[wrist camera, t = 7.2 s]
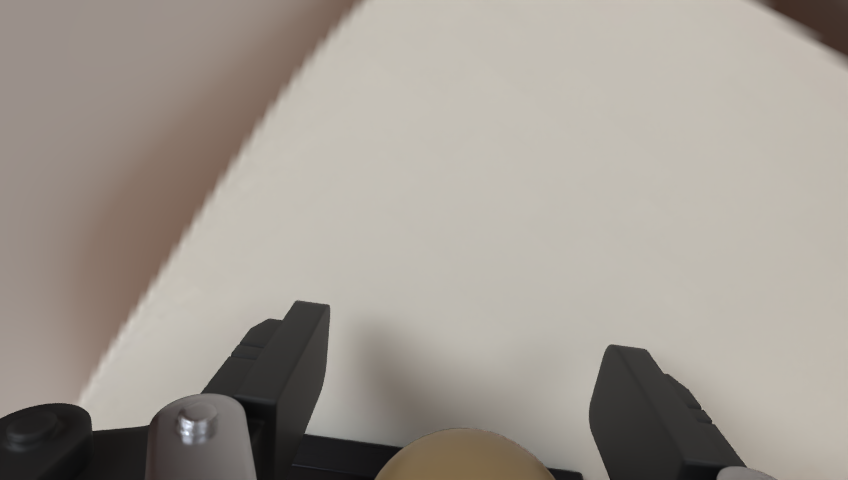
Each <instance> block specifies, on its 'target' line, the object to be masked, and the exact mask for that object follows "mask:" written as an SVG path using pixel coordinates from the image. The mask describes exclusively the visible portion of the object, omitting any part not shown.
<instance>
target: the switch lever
mask: <svg viewBox="0 0 848 480" xmlns="http://www.w3.org/2000/svg"><path fill="white" fill-rule="evenodd" d="M375 480H555V478H554V477H553V475H552V474H551V473H550V472H549V471H548V470H547V468H546V467H545V466H544V465H543V464H542V463H541V462H540V461H539V460H538V459H537V458H536V457H535V456H534V455H533V454H531V453H530V452H529V451H527V450H526V449H524V448H523V447H522V446H520V445H519V444H517V443H515V442H513V441H511V440H509V439H507V438H505V437H504V436H501V435H498V434H495V433H492V432H489V431H484V430H480V429H471V428H455V429H447V430H442V431H437V432H434V433H431V434H429V435H426V436H423V437H421V438H419V439H417V440H415V441H414V442H412V443H410V444H409V445H407V446H406V447H404V448H403V449H402V450H400V451H399V452H398V453H397V454H396V455H395V456H393V457H392V458H391V459H390V460H389V461H388V462H387V464H386V465H385V466H384V467H383V468H382V470H381V471H380V472H379V473H378V475H377V477H376V478H375Z"/></svg>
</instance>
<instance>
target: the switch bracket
mask: <svg viewBox="0 0 848 480" xmlns="http://www.w3.org/2000/svg"><path fill="white" fill-rule="evenodd" d="M402 449H403V448H401V447H393V446H386V445H379V444H372V443H365V442H357V441H350V440H343V439H336V438H329V437H321V436H314V435H307V434H304V435H303V438H302V440H301V443H300V445H299V448H298V450H297V453H296V455H295V458H294V460H293V463H292V465H291V468H290V470H289V473H288V475H287V478H286V480H375V478H376V477H377V475H378V473H379V472H380V471H381V470H382V468H383V467H384V466H385V465H386V464H387V462H388V461H389V460H390V459H391V458H392V457H393V456H395V455H396V454H397V453H398V452H399V451H400V450H402ZM547 470H548V471H549V472H550V473H551V474H552V475H553V477H554V478H555V480H583V477H582V474H581V473H579V472H573V471H566V470H559V469H552V468H547Z"/></svg>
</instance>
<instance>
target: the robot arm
mask: <svg viewBox="0 0 848 480" xmlns="http://www.w3.org/2000/svg"><path fill="white" fill-rule="evenodd" d="M329 323H330V306H329V305H327V304H319V303H312V302H305V301H295V303H294V304H293V306H292V307H291V308H290V310H289V311H288V313H287V314H286V316H285V317H284V319H283V320H276V319H267V320H265V321H264V322H262V323H260V324H258V325H256V326H255V327H253V328H251V329H250V330H249V331H248V333H247V334H246V335H245V337H244V338H243V339H242V341H241V342H240V345H238V346H237V347H236V348H235V350H234V351H233V352H232V353H231V357H230V356H229V357H228V359H227V360H226V361H225V363H224V364H223V365H222V366H221V368H220V369H219V370H218V372H217V373H216V374H215V375H214V377H213V378H212V379H211V381H210V382H209V383H208V385H207V386H206V387H205V388H204V390H203V391H202V392H201V394H196V395H191V396H187V397H184V398H181V399H178V400H176V401H174V402H172V403H170V404H168V405H167V406H165V407H164V408H162V409H161V410H160V411H159V412H158V413H157V414H156V415H155V416H154V417H153V419H152V421H151V423H150V425H147V426H141V427H133V428H122V429H111V430H100V431H92V423H91V417H90V415H89V413H88V412H87V411H86V410H85V409H83V408H81V407H79V406H76V405H72V404H65V403H53V404H43V405H38V406H33V407H29V408H25V409H22V410H19V411H16V412H14V413H11V414H9V415H7V416H5V417H3V418H1V419H0V480H286V478H287V475H288V473H289V470H290V468H291V465H292V463H293V460H294V458H295V455H296V453H297V450H298V448H299V445H300V443H301V440H302V438H303V435H304V433H305V430H306V428H307V425H308V423H309V420H310V418H311V415H312V413H313V410H314V408H315V405H316V403H317V400H318V398H319V395H320V393H321V390H322V386H323V382H324V377H325V372H326V363H327V350H328V336H329ZM589 423H590V429H591V432H592V435H593V437H594V440H595V442H596V445H597V447H598V450H599V453H600V455H601V458H602V460H603V463H604V465H605V468H606V470H607V473H608V475H609V478H610V480H777V479H775V478H773V477H771V476H769V475H767V474H765V473H762V472H760V471H757V470H754V469H750V468H747V467H746V465H745V464H744V463H743V461H742V460H741V459H740V457H739V456H738V455H737V453H736V452H735V451H734V449H733V448H732V447H731V445H730V444H729V443H728V441H727V440H726V439H725V437H724V436H723V435H722V434H721V432H720V431H719V430H718V428H717V427H716V426H715V424H712V420H711V419H710V418H709V416H708V415H707V414H706V412H705V411H704V410H701V406H700V404H699V403H698V402H697V400H696V399H695V398H694V396H693V395H692V394H691V392H690V391H689V390H688V389H687V388H686V387H684V386H683V385H682V384H680V383H679V382H678V381H676V380H675V379H674V378H673V377H671V376H670V375H669V374H664V373H663V372H662V371H661V369H660V368H659V366H658V365H657V364H656V362H655V361H654V359H653V358H652V357H651V355H650V354H649V352H648V351H647V350H645V349H641V348H634V347H627V346H620V345H609V346H608V347H607V349H606V350H605V353H604V356H603V359H602V363H601V367H600V370H599V374H598V377H597V381H596V384H595V388H594V391H593V395H592V398H591V402H590V408H589Z"/></svg>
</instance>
